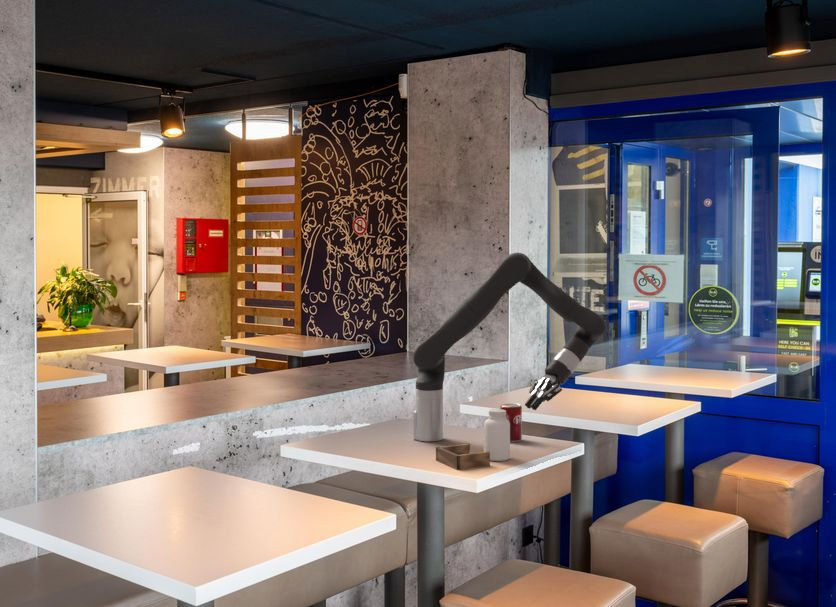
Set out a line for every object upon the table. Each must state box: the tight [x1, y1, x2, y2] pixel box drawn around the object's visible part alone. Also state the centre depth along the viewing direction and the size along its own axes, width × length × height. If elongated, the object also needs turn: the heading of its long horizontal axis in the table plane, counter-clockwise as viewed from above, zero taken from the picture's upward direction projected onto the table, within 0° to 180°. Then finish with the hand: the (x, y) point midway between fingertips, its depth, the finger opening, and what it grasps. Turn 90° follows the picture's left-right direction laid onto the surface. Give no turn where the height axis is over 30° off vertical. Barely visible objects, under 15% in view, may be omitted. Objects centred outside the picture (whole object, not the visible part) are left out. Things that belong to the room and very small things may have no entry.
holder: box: [435, 443, 491, 471], centre depth 275 cm, size 11×13×4 cm
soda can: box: [499, 403, 523, 443], centre depth 306 cm, size 7×7×12 cm
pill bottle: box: [483, 408, 511, 462], centre depth 280 cm, size 8×8×15 cm
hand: (529, 407), depth 284 cm, fingers closed
